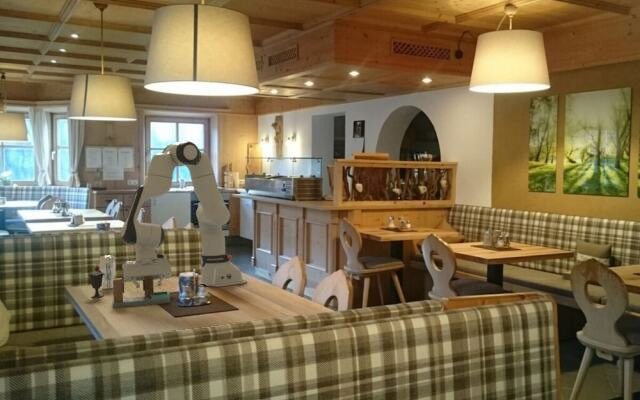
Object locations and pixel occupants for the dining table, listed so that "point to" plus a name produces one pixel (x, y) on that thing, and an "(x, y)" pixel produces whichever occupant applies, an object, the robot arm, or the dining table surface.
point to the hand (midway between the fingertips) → (148, 286)
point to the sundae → (96, 281)
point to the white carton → (107, 270)
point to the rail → (138, 301)
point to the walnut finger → (148, 285)
